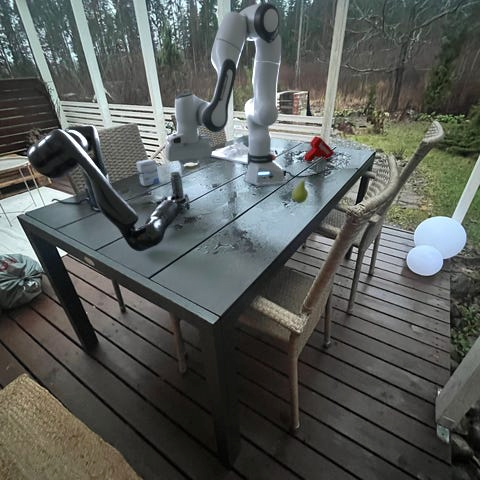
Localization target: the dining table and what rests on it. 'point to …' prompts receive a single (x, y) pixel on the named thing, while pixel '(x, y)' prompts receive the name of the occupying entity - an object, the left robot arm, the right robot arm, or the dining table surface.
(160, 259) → the dining table surface
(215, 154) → the relief map
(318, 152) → the toy gun
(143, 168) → the ink box
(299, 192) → the fruit
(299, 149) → the dining table surface
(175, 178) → the dark grey cylinder
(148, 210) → the dining table surface
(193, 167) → the lid
